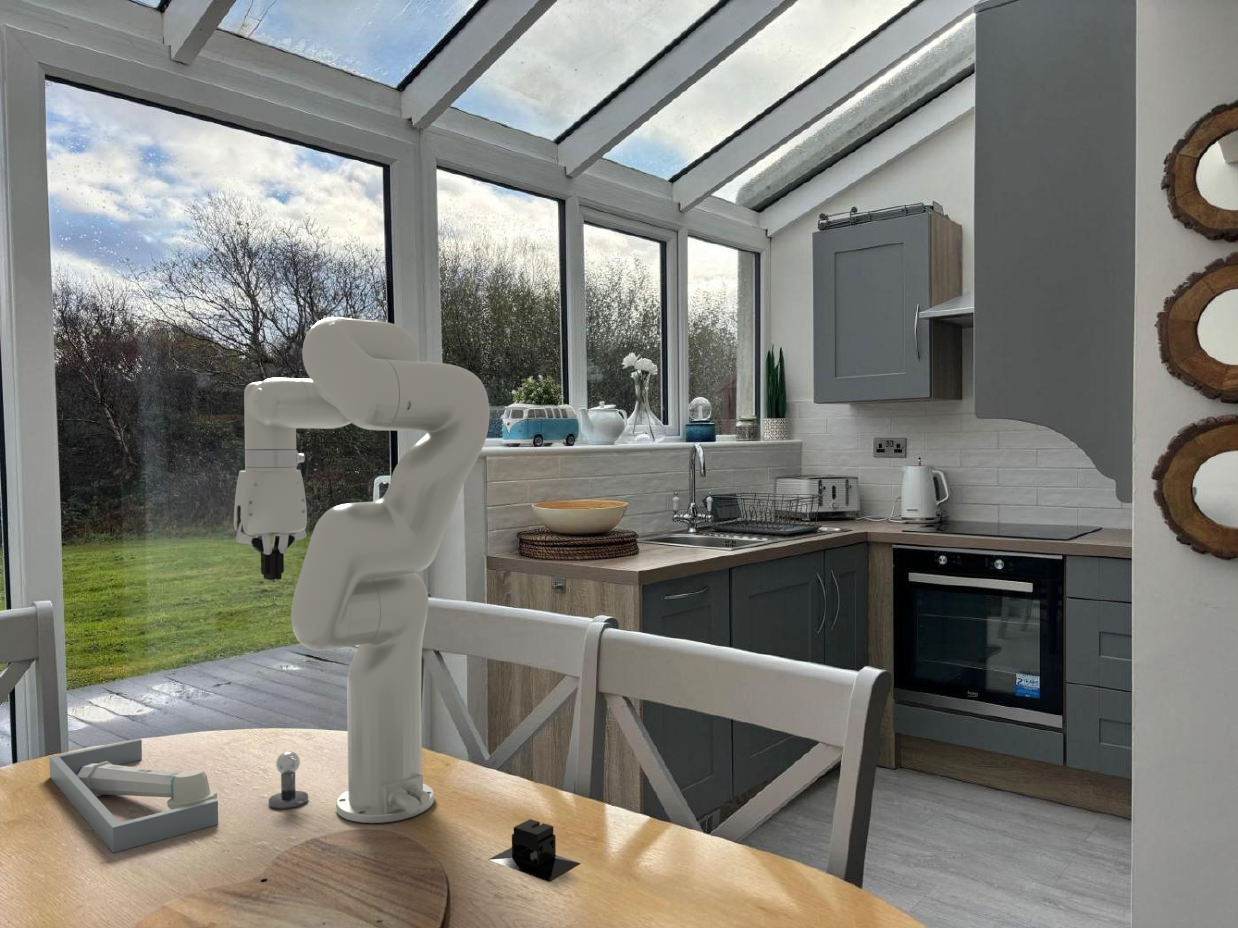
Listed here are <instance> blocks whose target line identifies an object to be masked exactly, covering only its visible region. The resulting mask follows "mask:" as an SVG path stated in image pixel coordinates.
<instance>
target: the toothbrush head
mask: <svg viewBox="0 0 1238 928" xmlns="http://www.w3.org/2000/svg"><path fill="white" fill-rule="evenodd" d="M75 775H76V776H77V777H78V778H79V779H80V780H81V781H82V782H83V783H84V784H85V785H86V787H87V788H88V789H89V790H90V791H91V792H92V793H93V794H94V795H95V796H96V797H97V798H98V797H101V796H104V795H107V796H109V795H110V796H127V797H128V796H129V797H153V798H169V799H167V801H166V803H167V807H168V808H169V810H172V809H176V808H180V807H184V806H188V805H192V804H196V803H200V802H203V801H207V800H211V799H216V800H217V798H218V792H217V791H216V790H214V789H210V784H209V780H208V776H207V774H206V772H205V771H204V770H203V769H192V770H186V771H183V772H174V771H173V772H172V771H167V770H166V771H165V770H157V769H150V768H142V767H134V766H128V765H127V766H126V765H121V764H119V765H113V764H111V763H110V762H108V761H105V762H102V763H99V764H92V763H91V764H88V765H85V766H81V767H80V768H79V770H78V771H77V773H76V774H75Z"/></svg>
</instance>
